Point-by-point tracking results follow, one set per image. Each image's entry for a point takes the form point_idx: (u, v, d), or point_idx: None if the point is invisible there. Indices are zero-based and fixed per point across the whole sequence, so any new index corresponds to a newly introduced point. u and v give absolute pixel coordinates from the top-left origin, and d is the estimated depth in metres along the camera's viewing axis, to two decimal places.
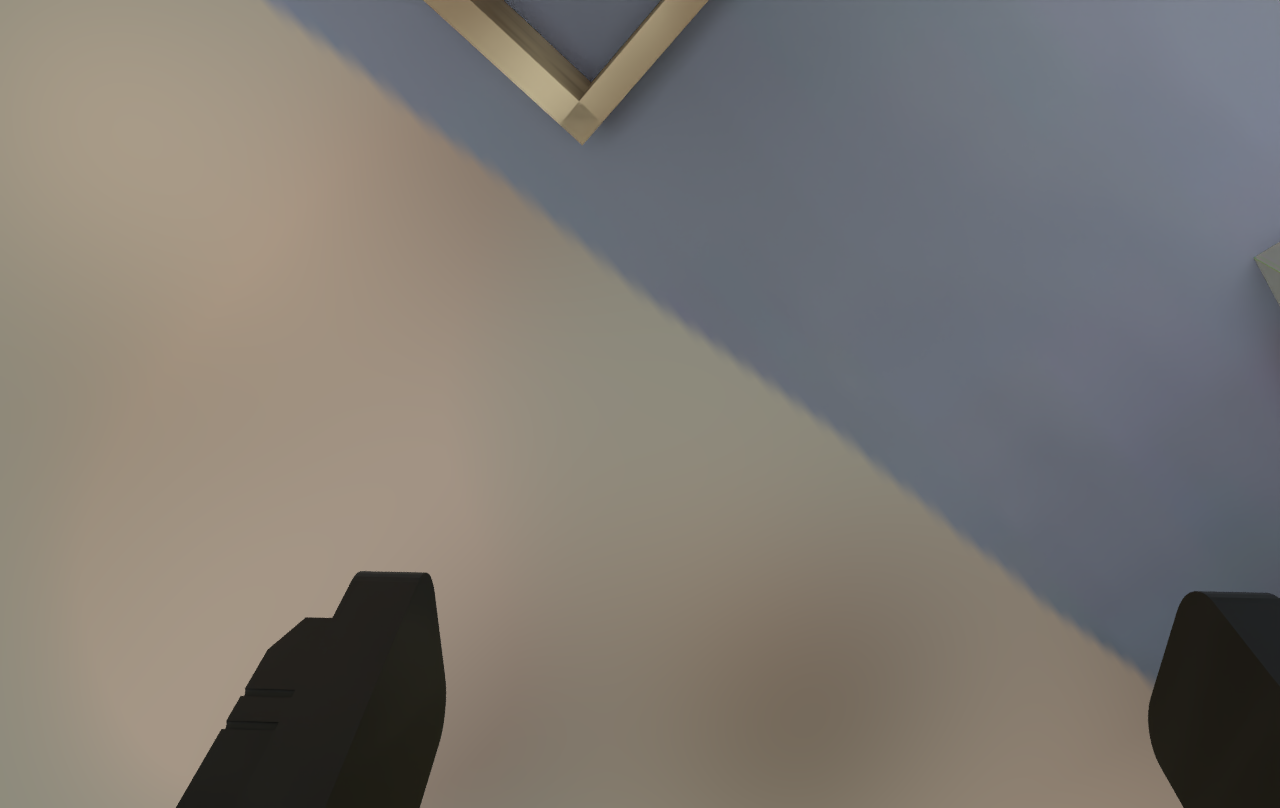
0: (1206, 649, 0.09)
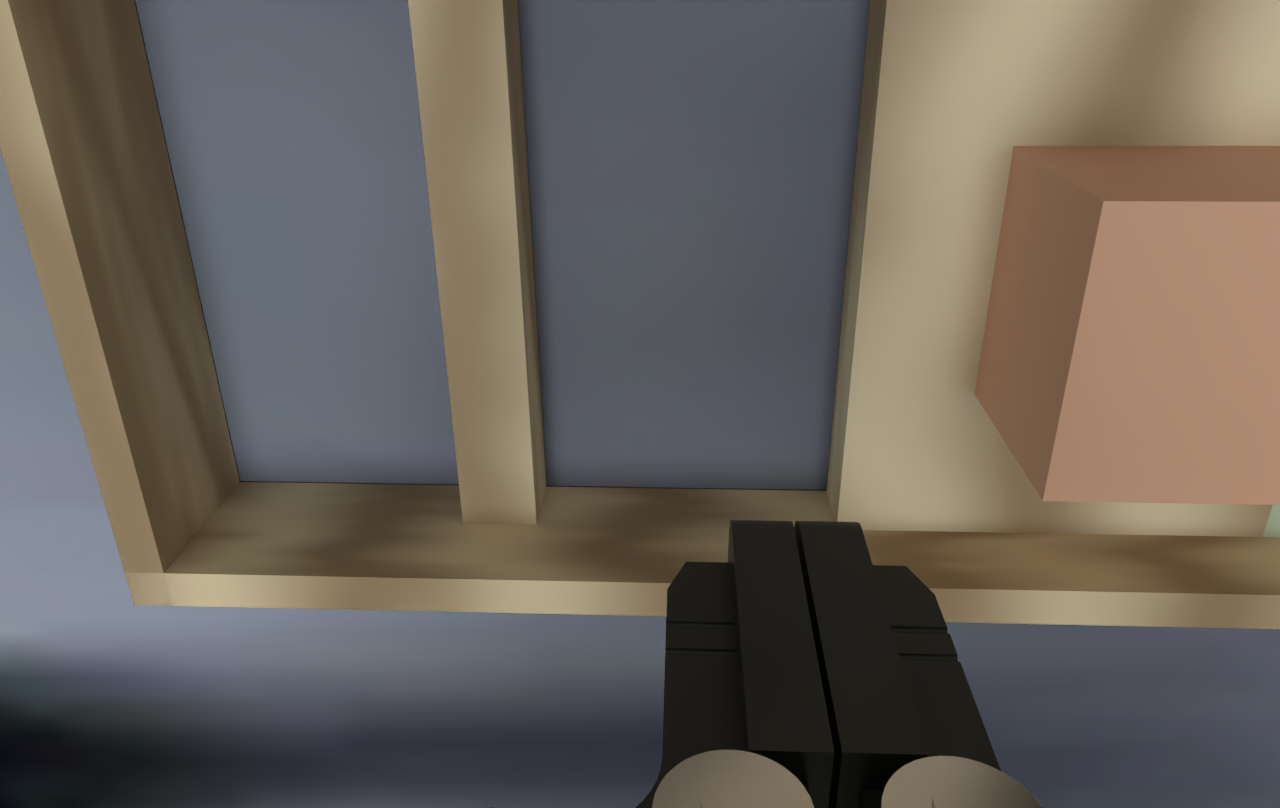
0: None
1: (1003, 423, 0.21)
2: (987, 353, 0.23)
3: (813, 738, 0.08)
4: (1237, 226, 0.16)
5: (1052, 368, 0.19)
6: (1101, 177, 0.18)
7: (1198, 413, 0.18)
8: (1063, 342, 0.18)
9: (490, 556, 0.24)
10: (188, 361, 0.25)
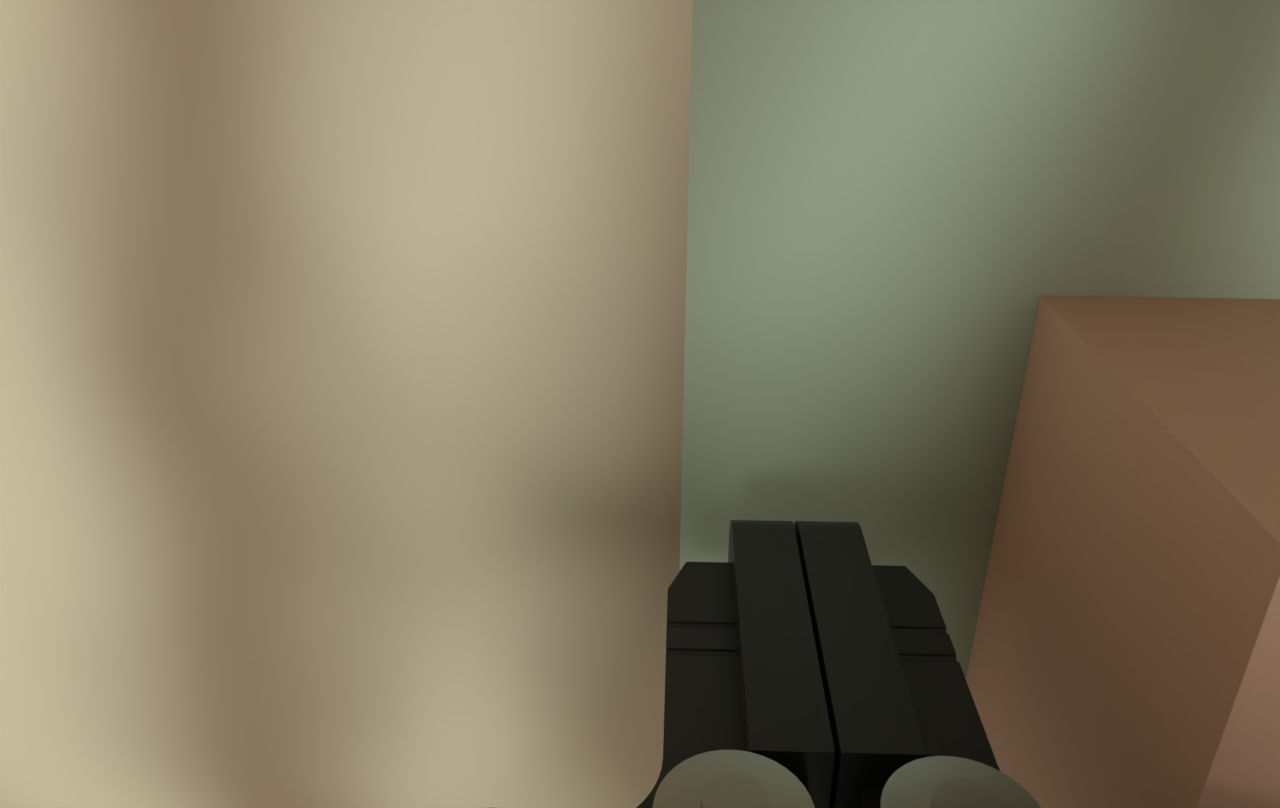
0: None
1: None
2: (985, 650, 0.12)
3: (814, 738, 0.08)
4: None
5: None
6: (1246, 424, 0.08)
7: None
8: (1155, 796, 0.08)
9: None
10: None
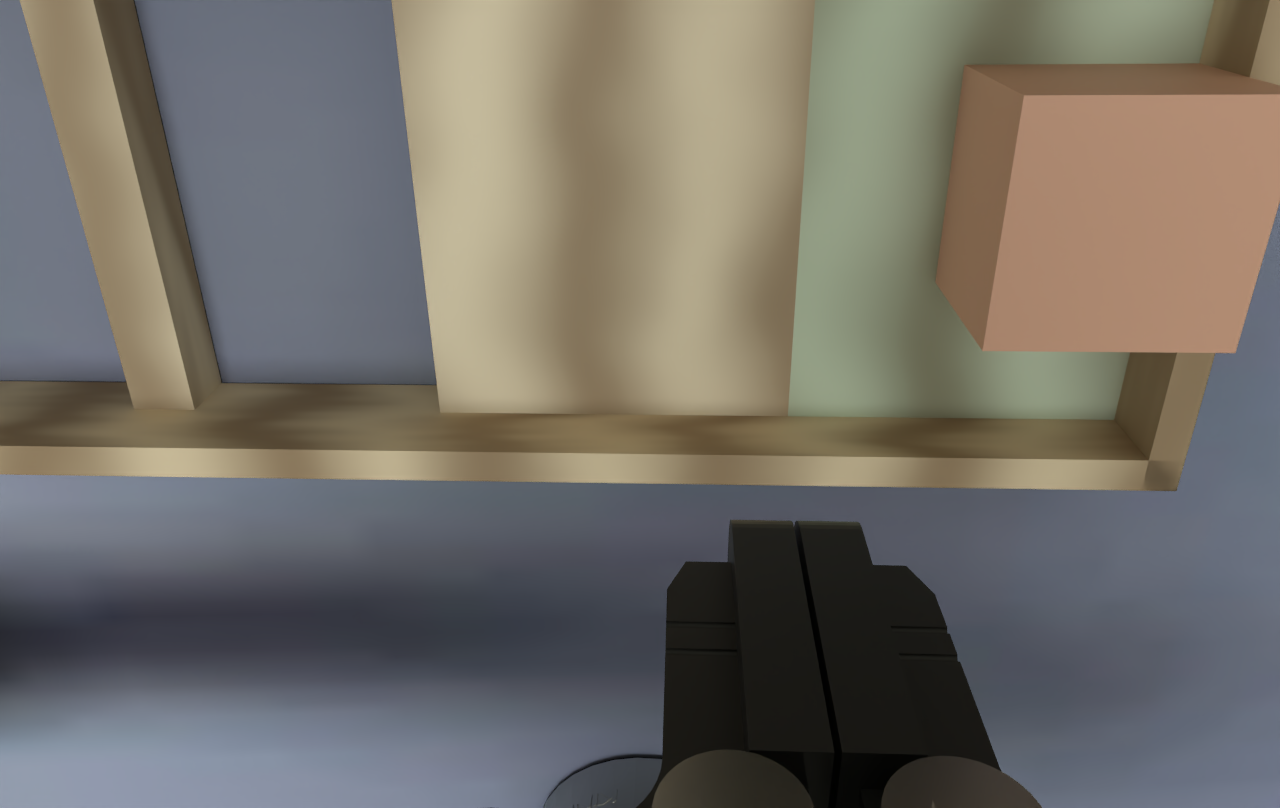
0: None
1: (955, 298, 0.26)
2: (944, 244, 0.27)
3: (814, 739, 0.08)
4: (1131, 115, 0.21)
5: (989, 240, 0.23)
6: (1028, 82, 0.22)
7: (1106, 273, 0.22)
8: (997, 217, 0.22)
9: (141, 432, 0.29)
10: None
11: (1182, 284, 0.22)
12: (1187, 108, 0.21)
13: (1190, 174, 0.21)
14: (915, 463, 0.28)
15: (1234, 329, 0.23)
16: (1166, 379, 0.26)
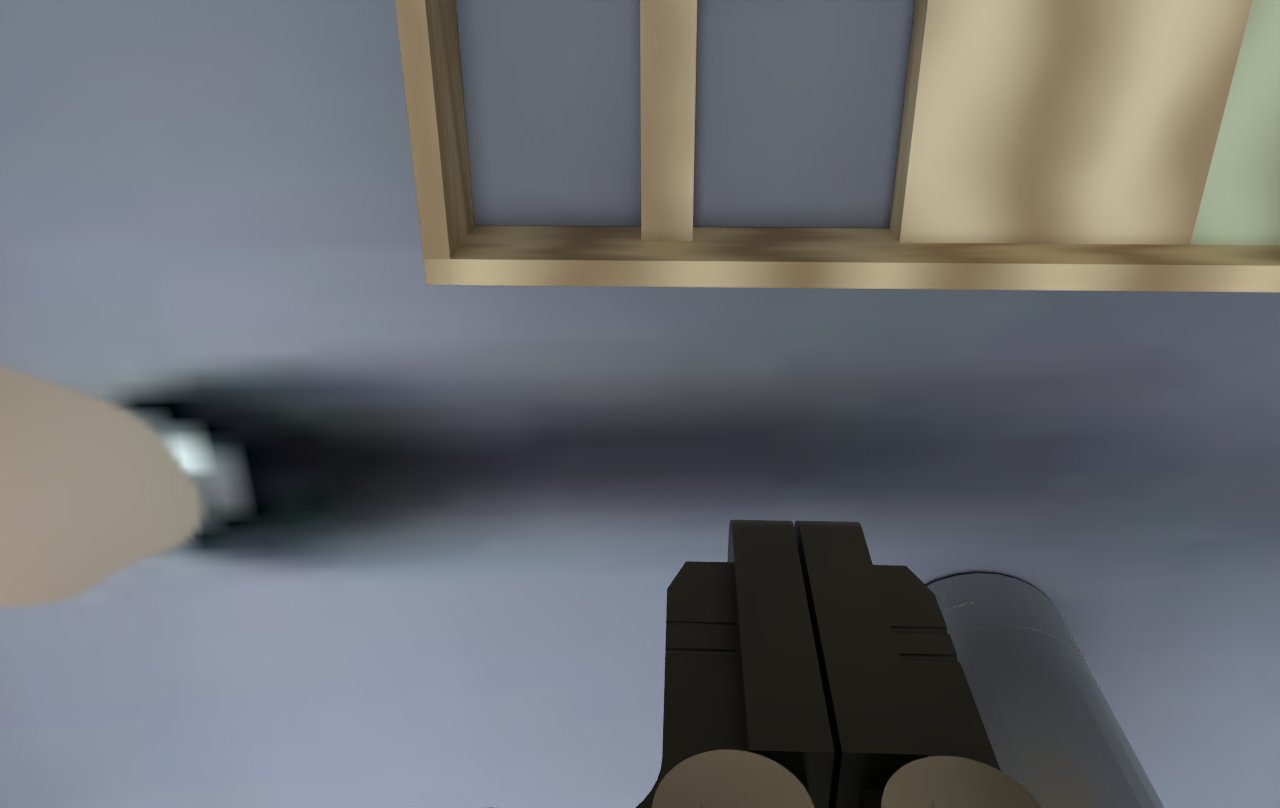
0: None
1: None
2: None
3: (813, 739, 0.08)
4: None
5: None
6: None
7: None
8: None
9: (667, 252, 0.36)
10: (458, 123, 0.36)
11: None
12: None
13: None
14: None
15: None
16: None
